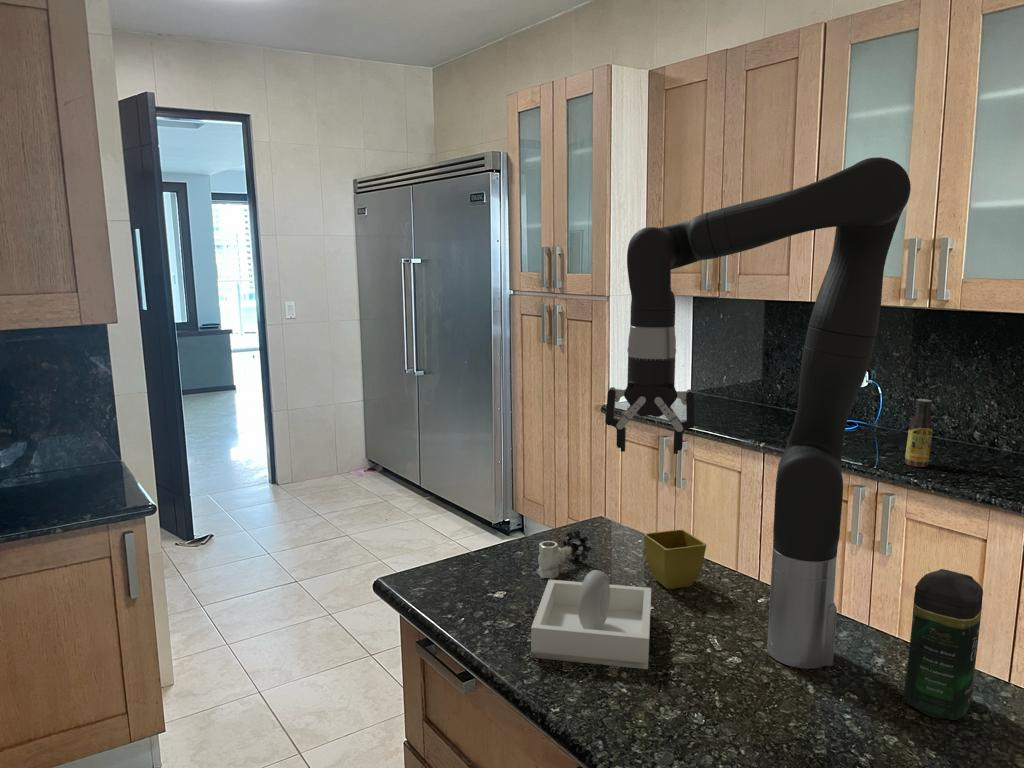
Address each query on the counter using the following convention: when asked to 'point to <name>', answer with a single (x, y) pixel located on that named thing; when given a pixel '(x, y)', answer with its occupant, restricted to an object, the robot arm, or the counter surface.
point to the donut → (594, 600)
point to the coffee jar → (943, 644)
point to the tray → (569, 641)
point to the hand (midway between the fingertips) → (648, 451)
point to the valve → (560, 554)
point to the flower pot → (674, 557)
